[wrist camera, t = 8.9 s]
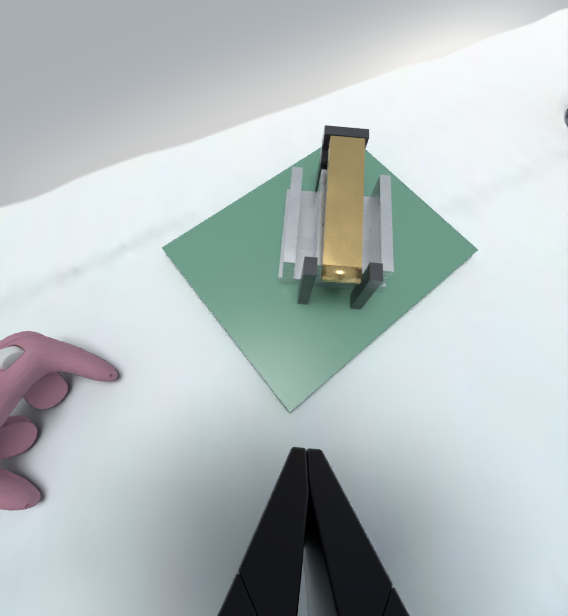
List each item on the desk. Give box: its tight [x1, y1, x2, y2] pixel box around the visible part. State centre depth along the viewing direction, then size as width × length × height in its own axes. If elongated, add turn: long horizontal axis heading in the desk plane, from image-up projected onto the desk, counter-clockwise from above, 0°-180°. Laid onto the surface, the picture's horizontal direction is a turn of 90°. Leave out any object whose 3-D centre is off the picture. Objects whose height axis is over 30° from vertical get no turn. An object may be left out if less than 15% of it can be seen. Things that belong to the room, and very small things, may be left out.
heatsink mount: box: [278, 125, 394, 310], centre depth 23 cm, size 12×8×5 cm, turn 175°
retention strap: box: [321, 136, 365, 284], centre depth 21 cm, size 10×2×1 cm, turn 175°
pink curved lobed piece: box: [0, 331, 118, 510], centre depth 19 cm, size 10×5×7 cm, turn 155°
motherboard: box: [162, 147, 478, 412], centre depth 26 cm, size 16×20×1 cm
